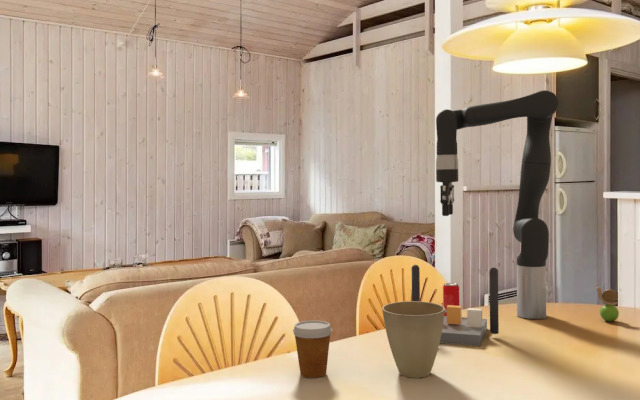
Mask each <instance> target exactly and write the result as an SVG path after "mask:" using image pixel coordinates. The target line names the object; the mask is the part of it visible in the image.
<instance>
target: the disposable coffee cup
mask: <svg viewBox="0 0 640 400" xmlns="http://www.w3.org/2000/svg"><path fill="white" fill-rule="evenodd" d="M332 331H333V328H332V327H331V324H330V323H329V322H328V321H324V320H303V321H299V322H296V323H295V324H294V328H293V329H292V333H293V335H294V339H295V345H296V346H295V347H296V351H297V352H296V353H297V359H298V367H299V373H300V374H301V375H300V376H301V377H304V378H308V379H316V378H323V377H324V376H326V375H327V368H328V360H329V359H328V358H329V351H330V350H329V349H330V340H331V339H330V338H331V335H332Z"/></svg>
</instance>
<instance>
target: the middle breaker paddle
mask: <svg viewBox="0 0 640 400" xmlns="http://www.w3.org/2000/svg"><path fill="white" fill-rule="evenodd" d="M462 313H463V312H462V305H459V306H453V305H448V306H447V324H461V323H462Z"/></svg>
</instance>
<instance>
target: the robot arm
mask: <svg viewBox="0 0 640 400" xmlns="http://www.w3.org/2000/svg"><path fill="white" fill-rule="evenodd" d="M559 106H560V103H559V98H558V96H557V95H556V94H555V93H554V92H553V91H551V90H547V89H546V90H539V91H536V92H533V93H531V94H529V95H525V96H522V97H519V98H513V99H510V100H509V99H508V100H504V101H497V102H489V103H483V104H477V105H476V104H475V105H471V106H467V107H465V108H463V109H457V110H456V109H455V110H452V109H447V108H446V109H443V110H441V111H439V112H438V114H437V115H436V118H435V126H436V127H435V128H436V157H435V158H436V160H435V177H436V178H435V181H436V182H437V183H442V184H441V185H440V186H439V187H440V200H439V203H440V205H441V215H442V216H443V217H448V216H450V215H453V214H454V203H455V193H454V192H455V185H454V184H453V183H457V182H458V181H459V159H458V140H457V134H458V130H461V129H465V128H474V127H480V126H486V125H492V124H496V123H500V122H503V121H507V120H512V119H517V118H526V136H525V141H524V145H523V150H522V157H521V167H520V175H519V176H520V177H519V178H520V179H519V188H518V190H519V191H518V201H517V202H518V203H517V208H516V212H515V218H514V221H513V227H512V231H513V236H514V238H515V239H516V240H517V242H519V243H520V253H519V255H517V257H516V316H517V317H520V318H522V319H528V320H529V319H532V320H539V319H545V320H546V319H547V270H546V269H547V259H548V255H549V246H550V245H549V243H550V242H549V241H550V237H549V236H550V233H549V227H548V224H547V223H546V221H544V220H542V219H541V218H539V213H540V212H539V209H540V204H541V200H542V198H543V195H544V193H545V191H546V188H547V186H548V184H549V181H550V176H551V175H550V174H551V166H552V153H551V143H550V131H551V126H552V121H553V117H554V114H555V113H556V112H557V111H558V108H559Z"/></svg>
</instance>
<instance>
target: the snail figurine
mask: <svg viewBox="0 0 640 400" xmlns="http://www.w3.org/2000/svg"><path fill="white" fill-rule="evenodd" d="M598 285H599V283H598V282H597V283H596V291H597V295H598V299H599V300H600V302H601V303H602V304H604V305H603V306H601V308H600V310H599V315H600V317H601V319H602V320H604V321H605V322H614V321H616V320H617V319H618V317H619V314H620V312H619V309H618V308H617V307H616V305H618V304H619V302H618V301H617V300H618V298H619V296H618V295H619V294H618V293H617V291H616V290H614V289H610V288H607V289H605V290H603V292H602V288H601V286H598Z"/></svg>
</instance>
